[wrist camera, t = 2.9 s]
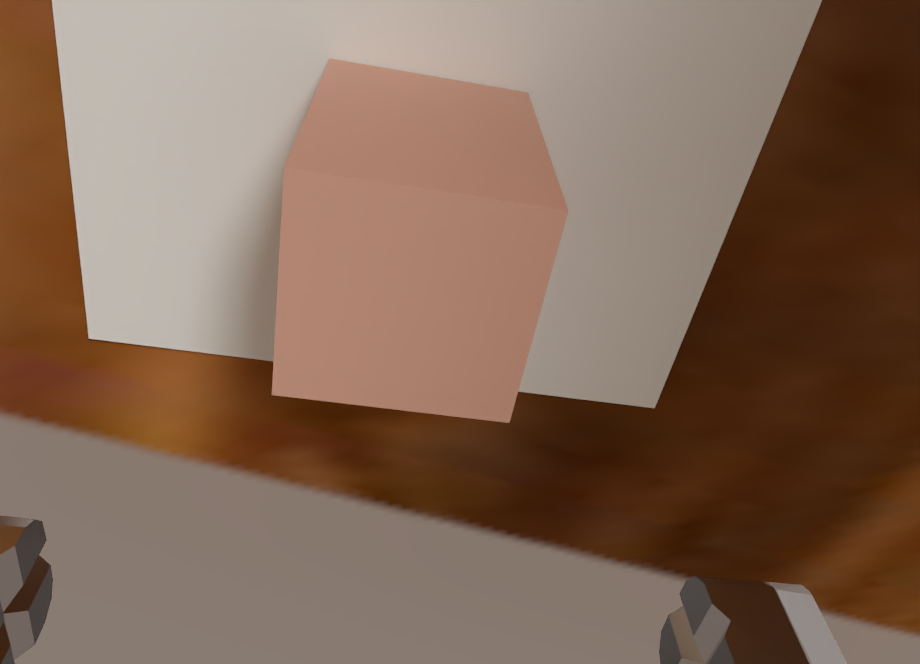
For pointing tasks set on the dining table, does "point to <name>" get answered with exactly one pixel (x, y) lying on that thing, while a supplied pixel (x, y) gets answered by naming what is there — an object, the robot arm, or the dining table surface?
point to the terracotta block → (413, 244)
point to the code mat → (435, 54)
